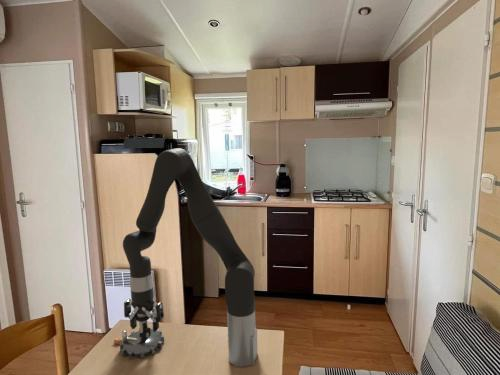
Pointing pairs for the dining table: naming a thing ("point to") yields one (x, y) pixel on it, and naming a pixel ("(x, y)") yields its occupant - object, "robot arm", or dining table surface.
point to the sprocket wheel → (140, 344)
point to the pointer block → (117, 340)
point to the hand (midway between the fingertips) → (144, 329)
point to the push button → (143, 327)
